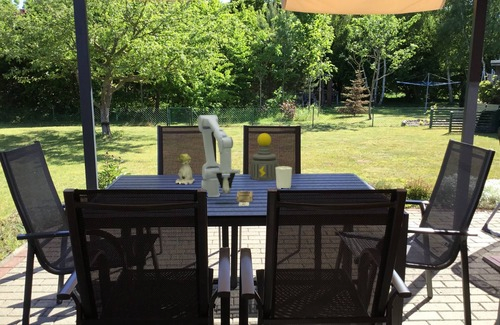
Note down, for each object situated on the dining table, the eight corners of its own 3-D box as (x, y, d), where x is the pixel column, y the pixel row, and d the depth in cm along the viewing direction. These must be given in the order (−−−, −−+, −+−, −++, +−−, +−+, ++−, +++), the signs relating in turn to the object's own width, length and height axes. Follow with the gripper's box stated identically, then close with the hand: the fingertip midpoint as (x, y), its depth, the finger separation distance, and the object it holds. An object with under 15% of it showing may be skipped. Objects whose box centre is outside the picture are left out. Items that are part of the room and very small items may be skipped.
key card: (238, 205, 205) (238, 205, 205) (239, 202, 211) (239, 202, 211) (248, 205, 205) (248, 205, 205) (249, 202, 211) (249, 202, 211)
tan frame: (236, 201, 213) (236, 197, 213) (238, 195, 227) (237, 191, 227) (252, 201, 213) (252, 197, 213) (252, 195, 227) (252, 191, 226)
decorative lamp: (277, 181, 265) (277, 134, 261) (248, 180, 268) (247, 134, 264) (280, 175, 284) (280, 132, 279) (252, 175, 287) (252, 131, 282)
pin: (221, 193, 208) (221, 177, 206) (222, 191, 212) (222, 176, 210) (229, 193, 208) (229, 177, 206) (230, 191, 211) (230, 176, 210)
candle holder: (277, 185, 252) (277, 166, 250) (293, 186, 249) (293, 166, 248) (273, 189, 243) (273, 168, 241) (290, 189, 240) (290, 169, 238)
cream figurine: (194, 180, 272) (193, 152, 269) (195, 184, 259) (194, 154, 256) (175, 180, 270) (174, 152, 267) (175, 184, 257) (174, 155, 255)
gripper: (210, 162, 203) (210, 189, 205) (239, 162, 203) (240, 189, 205) (211, 160, 210) (212, 186, 212) (240, 160, 210) (240, 186, 212)
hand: (226, 188), depth 209 cm, fingers closed on pin, 4 cm apart
